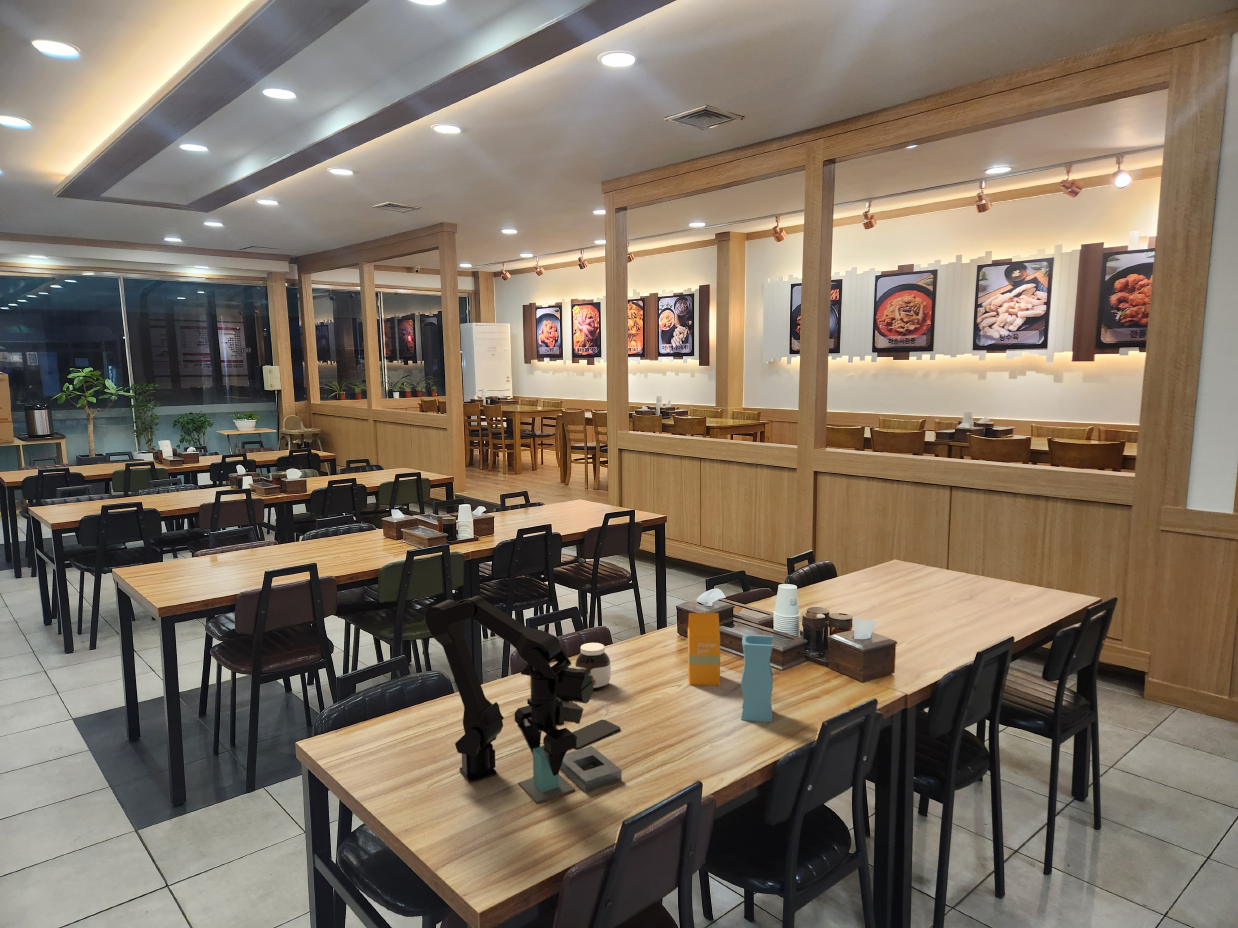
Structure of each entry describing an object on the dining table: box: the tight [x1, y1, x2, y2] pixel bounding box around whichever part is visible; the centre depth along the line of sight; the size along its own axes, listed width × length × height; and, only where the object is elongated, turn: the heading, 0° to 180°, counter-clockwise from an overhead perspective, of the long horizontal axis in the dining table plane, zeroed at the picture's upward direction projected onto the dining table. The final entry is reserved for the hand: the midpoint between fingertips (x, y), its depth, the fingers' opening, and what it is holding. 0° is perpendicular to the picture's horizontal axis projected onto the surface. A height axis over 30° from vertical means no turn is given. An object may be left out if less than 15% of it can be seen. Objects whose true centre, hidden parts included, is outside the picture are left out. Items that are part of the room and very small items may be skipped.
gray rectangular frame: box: [560, 745, 623, 794], centre depth 167 cm, size 9×13×2 cm
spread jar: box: [574, 642, 612, 692], centre depth 213 cm, size 12×11×12 cm
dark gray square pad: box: [517, 774, 576, 804], centre depth 162 cm, size 9×9×1 cm
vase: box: [740, 634, 774, 723], centre depth 195 cm, size 8×8×20 cm
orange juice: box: [687, 612, 721, 686], centre depth 218 cm, size 8×9×20 cm
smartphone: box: [571, 719, 621, 751], centre depth 186 cm, size 7×1×15 cm
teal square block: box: [532, 745, 560, 792], centre depth 161 cm, size 4×4×8 cm
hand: (545, 765), depth 161 cm, fingers open, 9 cm apart
